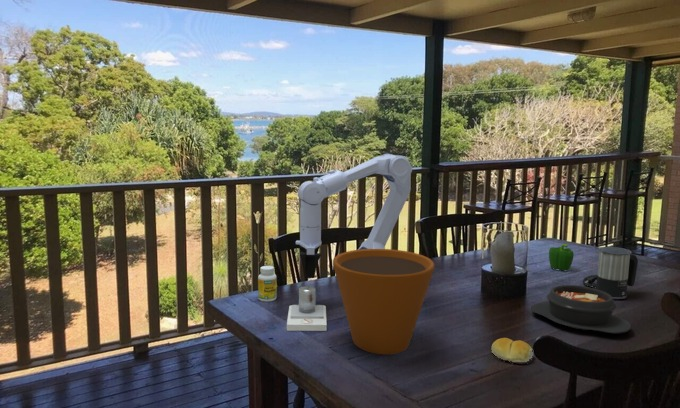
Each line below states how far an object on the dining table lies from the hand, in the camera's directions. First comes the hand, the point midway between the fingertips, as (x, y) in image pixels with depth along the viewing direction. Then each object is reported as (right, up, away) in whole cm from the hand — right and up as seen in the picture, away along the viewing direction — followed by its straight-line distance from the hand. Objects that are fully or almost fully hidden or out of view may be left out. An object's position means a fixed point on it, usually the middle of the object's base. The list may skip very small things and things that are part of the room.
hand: (310, 273), depth 146 cm
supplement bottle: (-13, -9, +10) cm, 19 cm away
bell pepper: (+89, -5, +48) cm, 101 cm away
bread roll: (+48, -16, -25) cm, 56 cm away
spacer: (-1, -9, -5) cm, 11 cm away
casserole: (+73, -13, -4) cm, 74 cm away
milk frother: (+93, -9, +23) cm, 96 cm away
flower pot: (+18, -14, -19) cm, 29 cm away
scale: (0, -12, -7) cm, 13 cm away
